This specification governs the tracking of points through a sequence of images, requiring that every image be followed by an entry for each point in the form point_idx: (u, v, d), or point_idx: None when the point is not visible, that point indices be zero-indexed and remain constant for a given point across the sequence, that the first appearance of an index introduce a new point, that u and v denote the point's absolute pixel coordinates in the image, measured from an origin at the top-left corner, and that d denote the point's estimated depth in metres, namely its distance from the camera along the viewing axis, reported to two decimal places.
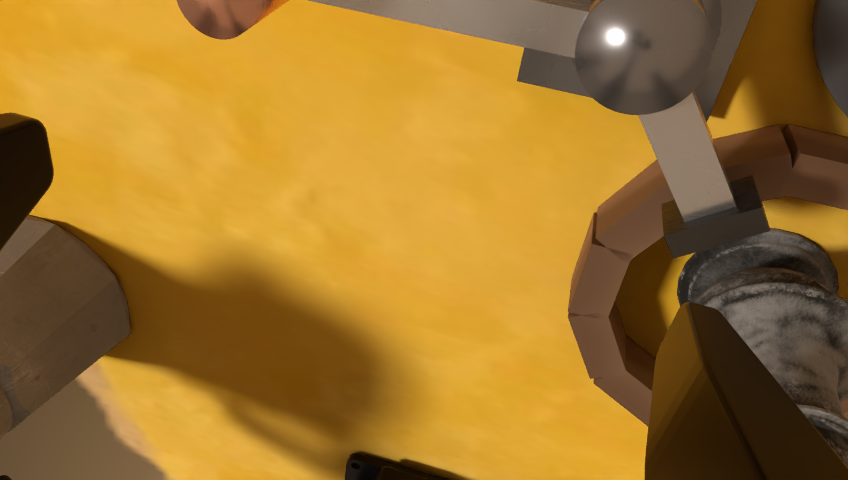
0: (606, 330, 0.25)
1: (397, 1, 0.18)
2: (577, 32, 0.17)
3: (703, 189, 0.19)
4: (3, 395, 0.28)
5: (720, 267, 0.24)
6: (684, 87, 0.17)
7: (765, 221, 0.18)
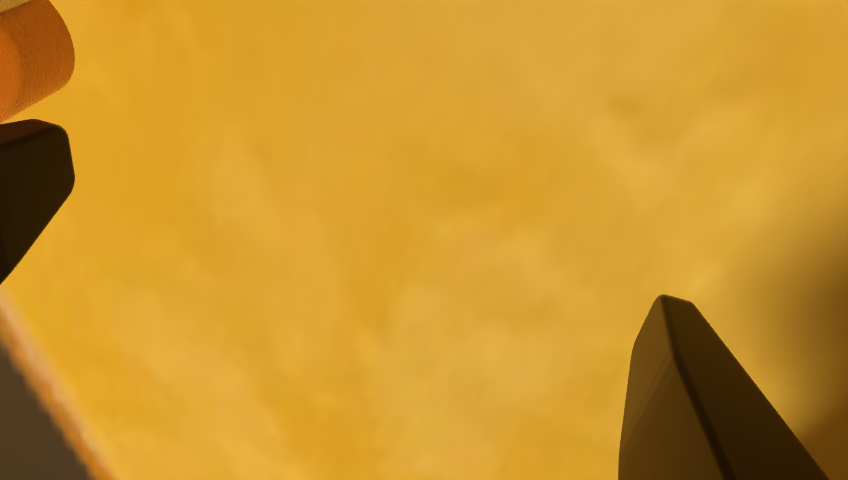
0: None
1: None
2: None
3: None
4: None
5: None
6: None
7: None
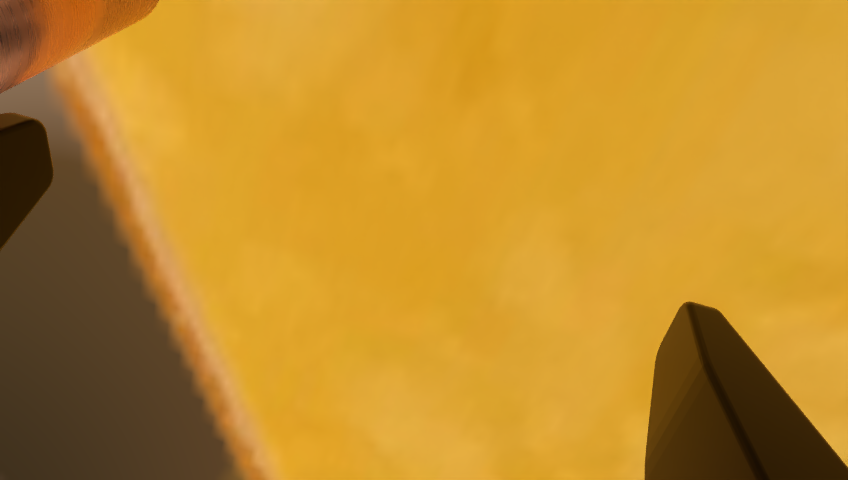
0: None
1: None
2: None
3: None
4: None
5: None
6: None
7: None
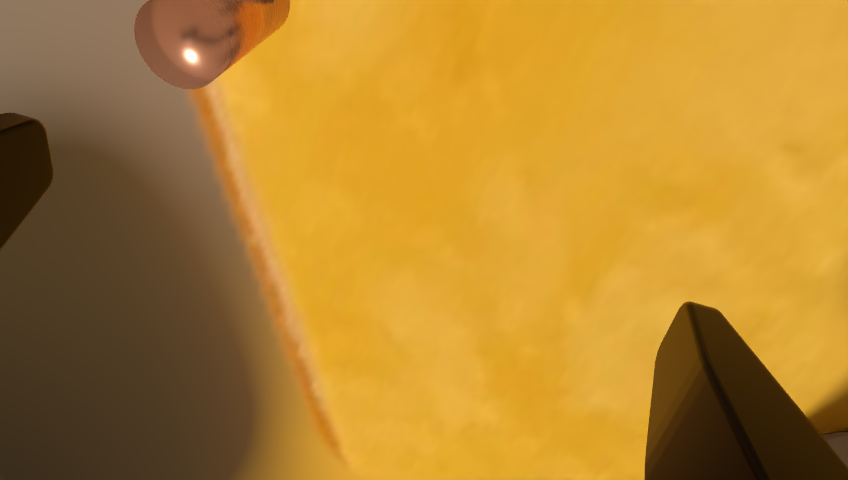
0: None
1: None
2: None
3: None
4: None
5: None
6: None
7: None
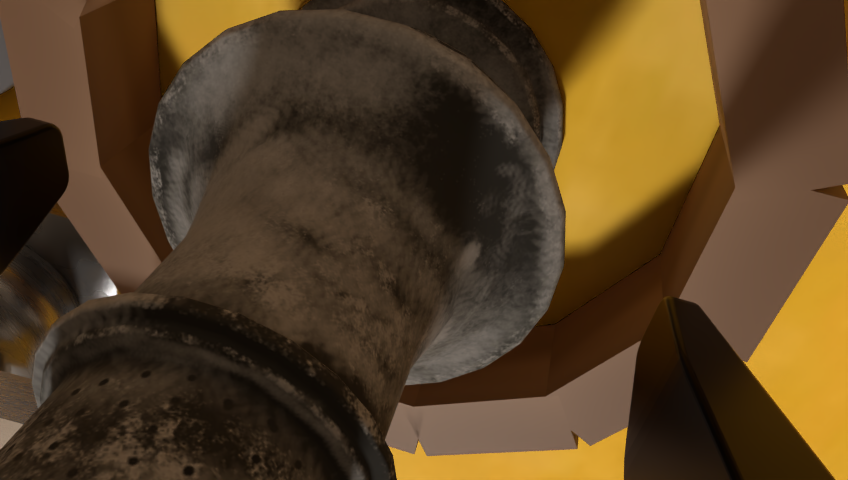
0: (446, 412, 0.13)
1: None
2: None
3: None
4: None
5: None
6: None
7: None
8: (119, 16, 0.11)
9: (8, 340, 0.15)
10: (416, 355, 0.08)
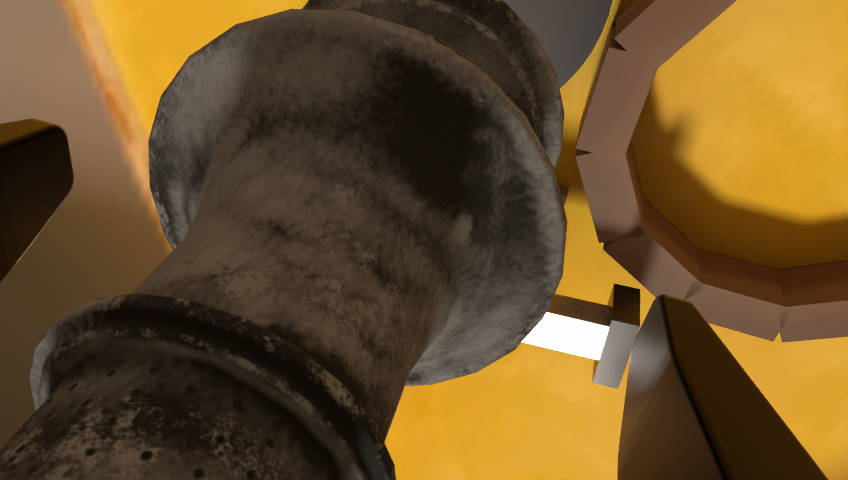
0: (809, 310, 0.21)
1: None
2: None
3: (576, 334, 0.21)
4: None
5: None
6: None
7: (627, 324, 0.20)
8: None
9: None
10: (419, 336, 0.08)
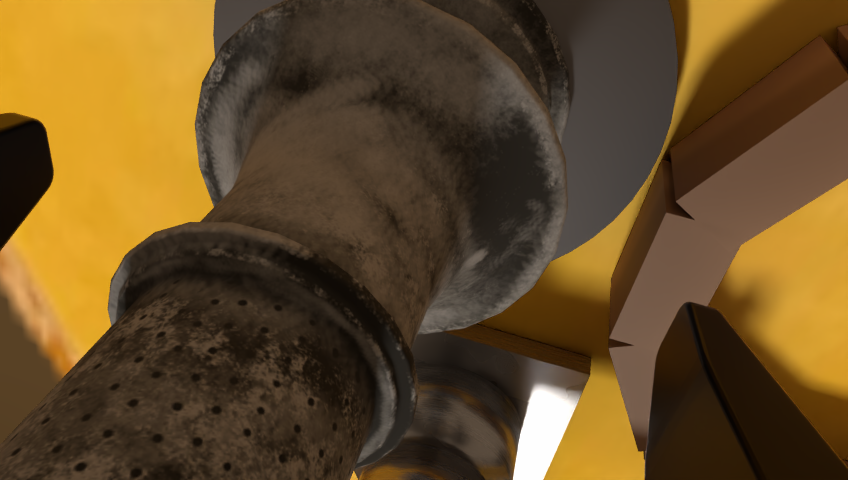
0: None
1: None
2: None
3: None
4: None
5: None
6: None
7: None
8: None
9: (505, 475, 0.16)
10: None
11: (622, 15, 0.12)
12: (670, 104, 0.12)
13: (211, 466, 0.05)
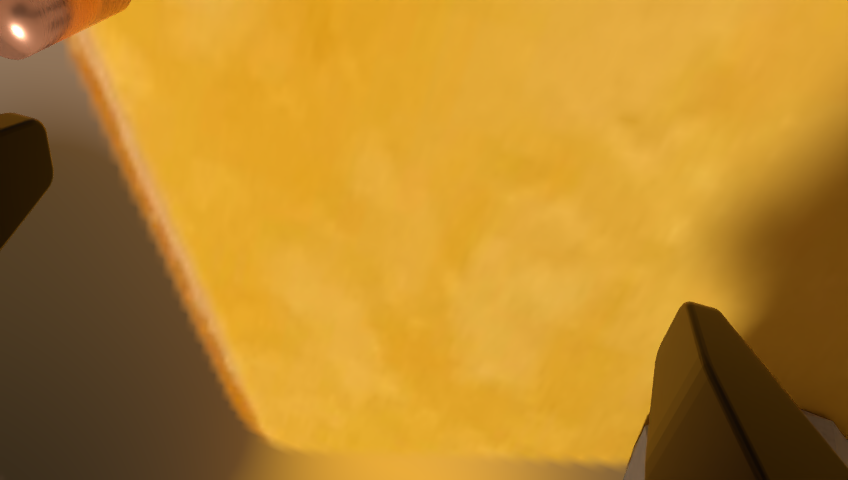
0: None
1: None
2: None
3: None
4: None
5: None
6: None
7: None
8: None
9: None
10: None
11: None
12: None
13: None
